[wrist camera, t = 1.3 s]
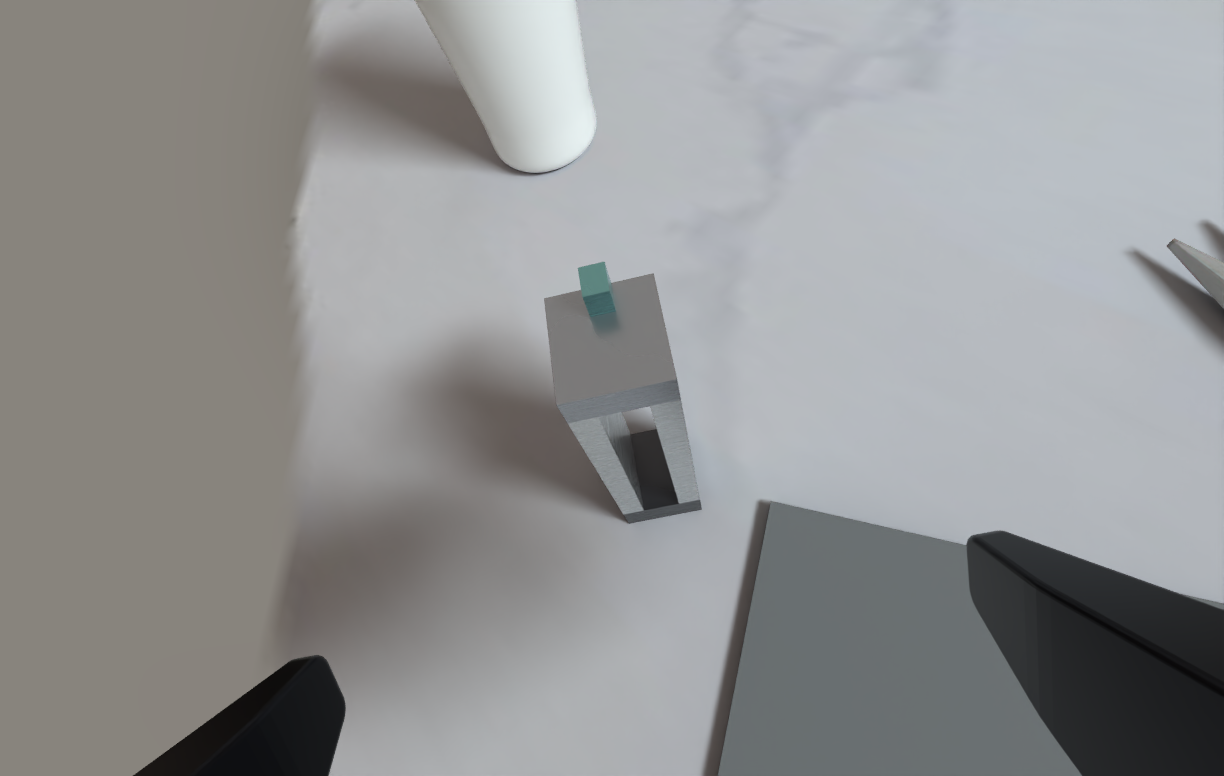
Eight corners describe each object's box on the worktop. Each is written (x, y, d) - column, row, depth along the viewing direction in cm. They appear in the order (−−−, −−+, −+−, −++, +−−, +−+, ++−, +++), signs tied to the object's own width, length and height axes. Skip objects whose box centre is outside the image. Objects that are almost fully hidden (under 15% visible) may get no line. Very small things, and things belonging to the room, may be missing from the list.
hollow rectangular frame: (701, 509, 22) (673, 361, 12) (629, 523, 22) (546, 388, 13) (685, 436, 23) (649, 251, 14) (617, 450, 23) (534, 278, 14)
